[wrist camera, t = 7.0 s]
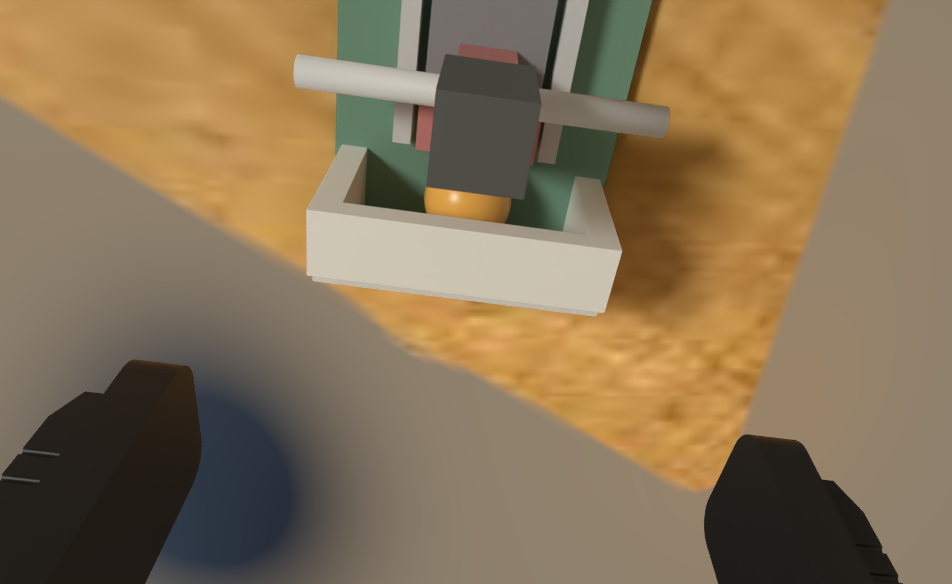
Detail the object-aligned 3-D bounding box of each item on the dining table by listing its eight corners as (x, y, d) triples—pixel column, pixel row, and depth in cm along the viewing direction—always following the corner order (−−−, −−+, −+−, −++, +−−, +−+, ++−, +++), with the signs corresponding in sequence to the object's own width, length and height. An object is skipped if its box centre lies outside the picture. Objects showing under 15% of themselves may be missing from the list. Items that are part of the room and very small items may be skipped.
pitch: (349, -375, 22) (337, -393, 21) (727, -309, 23) (745, -322, 21) (336, 213, 34) (328, 231, 33) (586, 246, 35) (590, 265, 33)
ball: (417, 253, 32) (428, 185, 34) (501, 264, 32) (507, 196, 34) (420, 204, 28) (431, 131, 30) (514, 216, 28) (520, 143, 30)
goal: (342, 144, 32) (306, 209, 26) (599, 179, 32) (622, 251, 26) (340, 217, 34) (306, 293, 28) (582, 249, 34) (599, 330, 29)
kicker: (325, -48, 27) (234, 3, 18) (665, 3, 28) (749, 78, 18) (323, 110, 31) (247, 221, 21) (625, 152, 31) (679, 277, 22)
